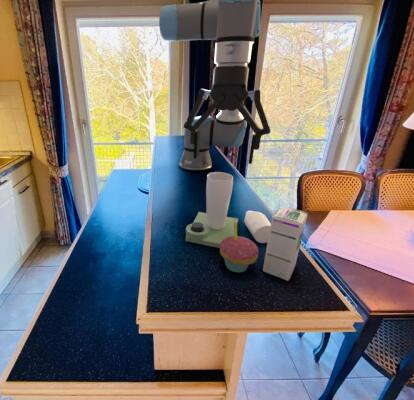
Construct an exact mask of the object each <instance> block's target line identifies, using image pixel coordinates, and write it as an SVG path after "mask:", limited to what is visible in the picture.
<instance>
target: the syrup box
mask: <svg viewBox="0 0 414 400" xmlns="http://www.w3.org/2000/svg"><path fill="white" fill-rule="evenodd" d="M307 219H308V212H306V211H303V210H300V209H297V208H292V207H287V206H286V207H285V206H281V205H280V206H279V207H278V209H277V210H276V211H275V212H274V214H273V215H272V216H271V222H270V223H271V226H270V232H269V237H268V242H267V243H266V249H265V255H264V259H263V265H262V272H264V273H266V274H268V275H271V276H274V277H277V278H279V279H282V280H285V281H287V282H289V280H290V279H291V277H292V274H293V273H294V271H295V267H296V265H297V260H298V256H299V252H300V248H301V244H302V239H303V235H304V231H305V227H306V223H307Z"/></svg>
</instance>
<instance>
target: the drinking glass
mask: <svg viewBox="0 0 414 400" xmlns="http://www.w3.org/2000/svg"><path fill="white" fill-rule="evenodd" d="M233 187H234V176H233V175H232V174H231V173H228V172H221V171H214V172H209V173H208V174H207V175H206V184H205V205H206V208H205V209H206V210H205V211H206V212H205V213H206V225H207V226H208V227H209V228H211V229H215V230H219V229H222V228H224V227H225V223H226V217H228V212H229V208H230V202H231V197H232V192H233Z"/></svg>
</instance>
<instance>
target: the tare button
mask: <svg viewBox="0 0 414 400" xmlns="http://www.w3.org/2000/svg"><path fill="white" fill-rule="evenodd" d="M192 223H193V222H192ZM192 223H191V224H192ZM192 231H193V232H202V231H203V224H202V223H199V222H195V223H193V224H192Z"/></svg>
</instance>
